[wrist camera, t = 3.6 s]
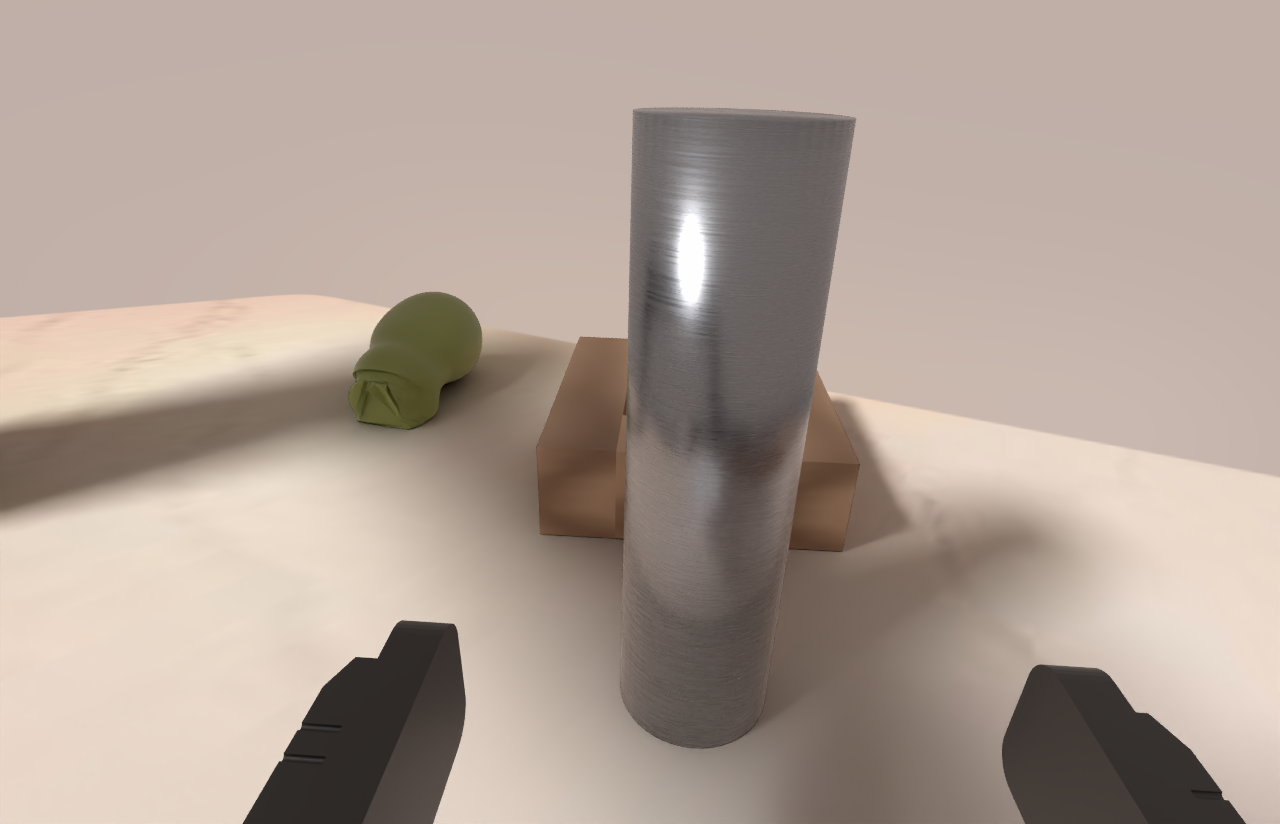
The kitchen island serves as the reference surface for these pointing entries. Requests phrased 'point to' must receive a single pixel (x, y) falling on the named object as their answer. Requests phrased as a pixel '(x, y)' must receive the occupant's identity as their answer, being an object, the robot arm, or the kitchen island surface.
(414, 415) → the green rounded lump
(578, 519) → the socket block
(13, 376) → the kitchen island surface
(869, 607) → the kitchen island surface
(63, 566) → the kitchen island surface
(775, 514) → the pin
